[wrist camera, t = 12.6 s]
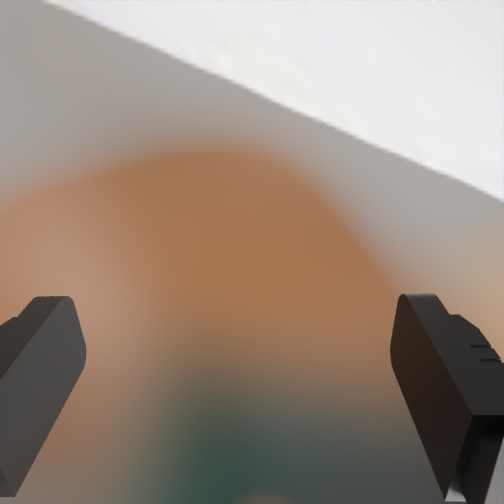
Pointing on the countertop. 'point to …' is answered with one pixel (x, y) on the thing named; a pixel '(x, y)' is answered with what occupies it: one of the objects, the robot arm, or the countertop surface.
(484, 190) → the countertop surface
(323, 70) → the countertop surface
